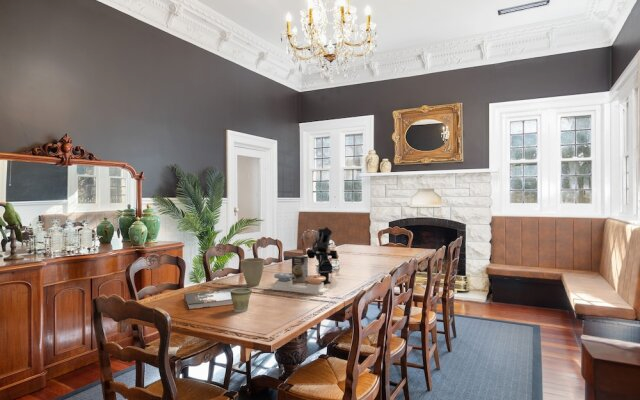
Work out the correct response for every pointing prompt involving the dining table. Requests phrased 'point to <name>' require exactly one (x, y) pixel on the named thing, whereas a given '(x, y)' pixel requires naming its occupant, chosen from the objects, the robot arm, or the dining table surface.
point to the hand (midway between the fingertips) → (319, 265)
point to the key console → (300, 287)
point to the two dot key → (284, 276)
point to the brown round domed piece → (315, 279)
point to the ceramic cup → (240, 299)
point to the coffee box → (299, 268)
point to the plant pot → (252, 270)
